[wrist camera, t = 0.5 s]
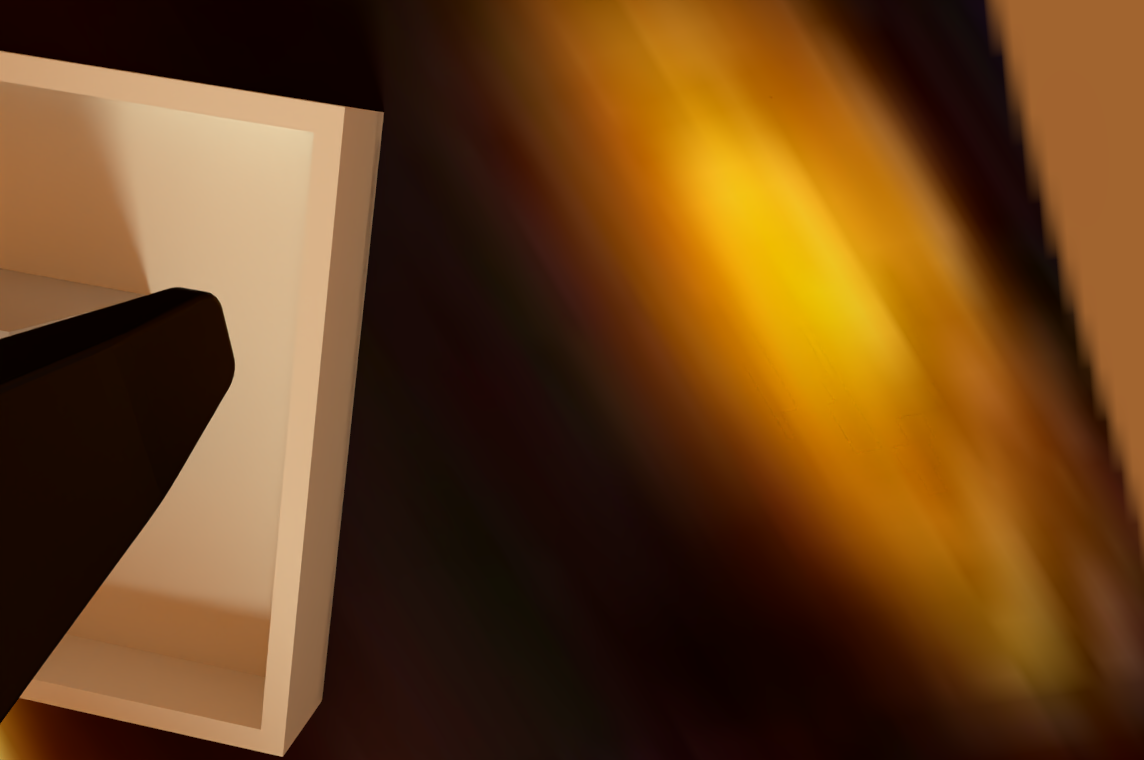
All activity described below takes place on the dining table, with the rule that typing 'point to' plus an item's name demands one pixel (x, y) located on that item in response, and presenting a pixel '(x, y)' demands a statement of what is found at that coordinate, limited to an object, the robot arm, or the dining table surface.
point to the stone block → (48, 300)
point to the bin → (255, 397)
